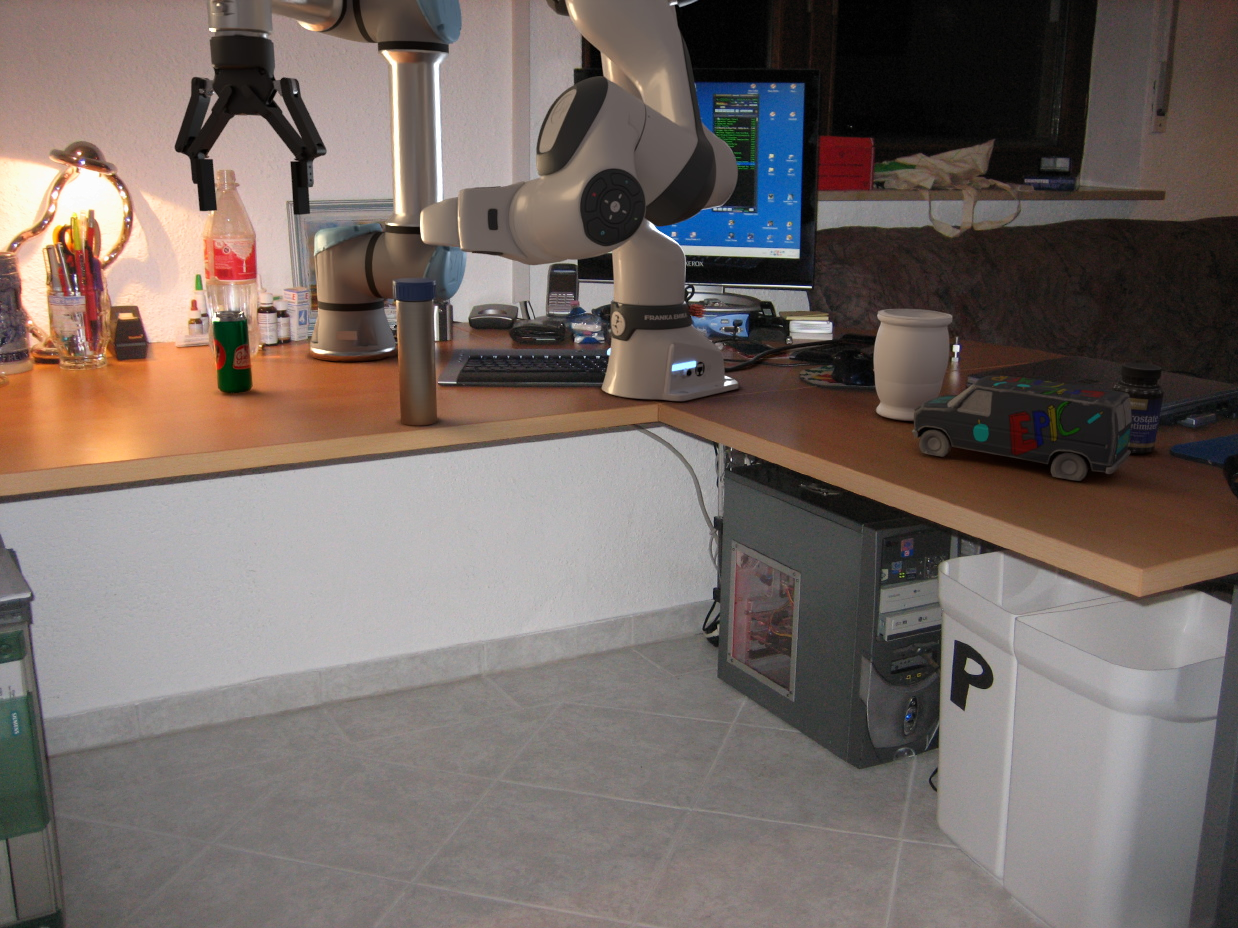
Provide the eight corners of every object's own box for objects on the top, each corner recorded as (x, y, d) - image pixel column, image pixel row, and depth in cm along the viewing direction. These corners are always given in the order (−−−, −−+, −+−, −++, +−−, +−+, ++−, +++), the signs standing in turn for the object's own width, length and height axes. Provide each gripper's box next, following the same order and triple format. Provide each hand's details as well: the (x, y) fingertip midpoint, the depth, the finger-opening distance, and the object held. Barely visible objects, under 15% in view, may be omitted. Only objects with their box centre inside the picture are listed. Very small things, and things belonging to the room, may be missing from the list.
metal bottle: (416, 427, 145) (411, 286, 140) (393, 421, 148) (387, 283, 143) (444, 421, 149) (440, 283, 143) (421, 415, 152) (416, 280, 146)
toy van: (934, 435, 146) (942, 362, 143) (1130, 468, 132) (1143, 388, 129) (905, 451, 137) (912, 375, 134) (1110, 488, 123) (1124, 404, 121)
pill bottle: (1117, 454, 138) (1130, 370, 135) (1094, 442, 144) (1106, 361, 140) (1163, 454, 138) (1177, 370, 135) (1139, 442, 144) (1152, 361, 141)
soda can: (241, 395, 161) (235, 315, 157) (211, 393, 162) (204, 314, 158) (259, 388, 165) (253, 311, 162) (229, 386, 166) (223, 309, 163)
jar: (854, 409, 159) (862, 309, 155) (910, 404, 163) (920, 306, 159) (898, 426, 150) (909, 320, 146) (957, 420, 154) (969, 317, 150)
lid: (412, 302, 140) (411, 284, 139) (384, 297, 143) (383, 280, 142) (445, 298, 144) (444, 280, 143) (417, 294, 147) (416, 276, 147)
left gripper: (134, 34, 131) (152, 210, 137) (317, 32, 126) (327, 217, 132) (172, 40, 138) (188, 208, 144) (347, 39, 133) (356, 214, 139)
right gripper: (620, 197, 119) (561, 210, 131) (449, 187, 108) (401, 202, 120) (621, 254, 120) (562, 262, 131) (451, 250, 109) (403, 259, 121)
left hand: (254, 213), depth 138 cm, fingers open, 13 cm apart
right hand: (484, 233), depth 126 cm, fingers open, 8 cm apart
